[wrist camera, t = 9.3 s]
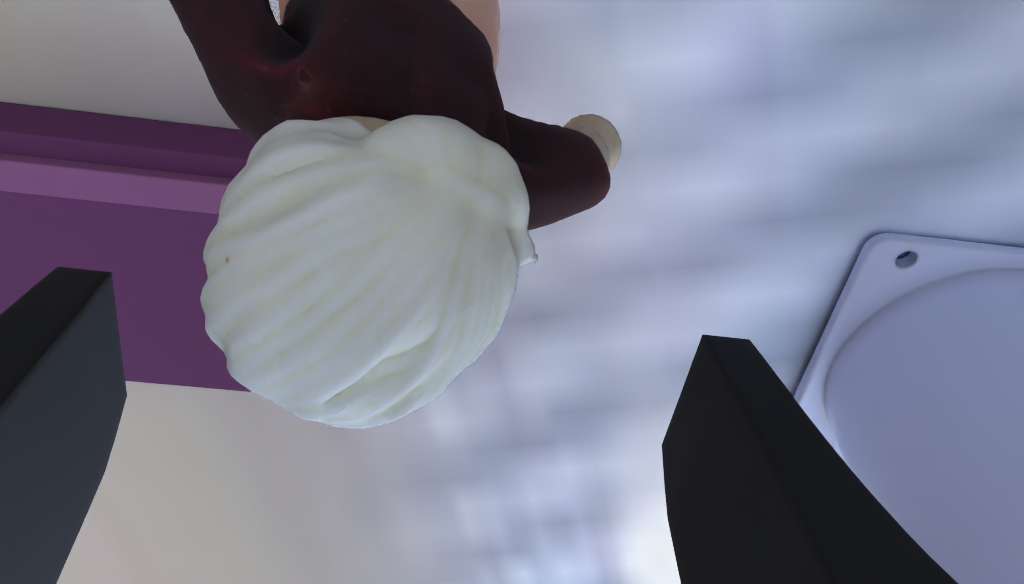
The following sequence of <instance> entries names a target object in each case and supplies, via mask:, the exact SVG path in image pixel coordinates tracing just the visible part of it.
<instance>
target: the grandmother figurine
mask: <svg viewBox="0 0 1024 584" xmlns="http://www.w3.org/2000/svg"><path fill="white" fill-rule="evenodd" d="M169 1H170V3H171V4H172V6H173V8H174V10H175V12H176V14H177V16H178V18H179V20H180V22H181V24H182V27H183V29H184V31H185V33H186V34H187V36H188V38H189V39H190V41H191V43H192V45H193V47H194V49H195V51H196V54H197V56H198V58H199V60H200V62H201V64H202V66H203V68H204V70H205V73H206V75H207V78H208V80H209V82H210V85H211V87H212V89H213V91H214V93H215V95H216V97H217V99H218V101H219V102H220V104H221V105H222V107H223V108H224V109H225V111H226V113H227V114H228V116H229V117H230V118H231V119H232V120H233V121H234V123H235V124H236V125H237V126H238V127H239V129H240V130H241V131H243V132H244V133H245V134H246V135H247V136H248V137H249V138H250V139H251V140H253V141H254V142H255V143H256V144H255V146H254V147H253V149H252V150H251V152H250V154H249V157H248V160H247V163H246V166H245V167H244V168H243V169H242V170H241V171H240V172H239V173H238V174H237V176H236V177H235V178H234V179H233V180H232V181H231V182H230V183H229V184H228V186H227V189H226V191H225V194H224V195H223V197H222V199H221V204H220V210H219V218H218V222H217V225H216V226H215V227H214V229H213V230H212V232H211V233H210V235H209V237H208V239H207V241H206V244H205V248H204V251H203V260H204V262H205V265H206V271H207V275H208V279H207V281H206V283H205V285H204V287H203V289H202V293H201V296H200V301H201V305H202V308H203V311H204V314H205V330H206V332H207V334H208V336H209V337H210V339H211V340H212V341H213V342H214V343H215V344H216V345H217V346H218V347H219V348H220V349H221V350H222V351H223V352H224V354H225V356H226V358H227V369H228V371H229V373H230V375H231V377H233V378H234V379H235V380H236V381H237V382H239V383H240V384H241V385H243V386H244V387H246V388H247V389H249V390H250V391H252V392H253V393H255V394H257V395H259V396H261V397H263V398H265V399H267V400H269V401H271V402H273V403H275V404H277V405H279V406H281V407H283V408H285V409H286V410H287V411H289V412H290V413H292V414H293V415H295V416H296V417H297V418H299V419H300V420H309V421H317V422H321V423H323V424H326V425H328V426H332V427H338V428H344V429H364V428H369V427H375V426H380V425H384V424H387V423H391V422H393V421H395V420H397V419H399V418H401V417H403V416H405V415H407V414H408V413H409V412H410V411H413V410H416V409H419V408H421V407H423V406H425V405H427V404H428V403H430V402H431V401H433V400H434V399H436V398H437V397H438V396H439V395H440V394H441V393H442V392H443V391H444V390H445V389H446V388H447V387H448V385H449V384H450V383H451V381H452V380H453V379H454V378H455V377H457V376H458V375H459V374H460V372H462V371H463V370H464V369H465V368H467V367H468V366H469V365H471V364H472V363H473V362H474V361H476V360H477V358H478V357H479V356H480V355H481V354H482V353H483V351H484V350H485V349H486V348H487V347H488V346H489V344H490V343H491V342H492V341H493V339H494V338H495V337H496V336H497V334H498V333H499V330H500V328H501V326H502V324H503V322H504V319H505V317H506V314H507V311H508V309H509V306H510V304H511V301H512V299H513V295H514V292H515V289H516V284H517V277H518V271H519V268H521V267H522V266H524V265H525V264H527V263H536V261H537V260H538V255H536V254H535V246H534V243H533V241H532V239H531V237H530V235H529V233H528V230H532V229H535V228H539V227H542V226H546V225H549V224H552V223H555V222H557V221H559V220H562V219H564V218H567V217H569V216H572V215H574V214H577V213H579V212H582V211H584V210H587V209H590V208H591V207H593V206H595V205H597V204H598V203H599V202H600V201H601V200H603V199H604V198H605V196H606V194H607V193H608V191H609V188H610V173H609V172H610V171H611V170H612V169H613V168H614V167H615V165H616V164H617V162H618V160H619V157H620V155H621V140H620V137H619V134H618V132H617V130H616V129H615V127H614V126H613V125H612V124H611V122H609V121H608V120H606V119H605V118H603V117H601V116H598V115H594V114H586V115H580V116H577V117H575V118H572V119H571V120H570V121H569V122H568V123H567V124H566V125H565V126H564V127H561V126H558V125H549V124H546V123H542V122H536V121H533V120H531V119H526V118H522V117H519V116H517V115H514V114H512V113H510V112H508V111H505V110H504V106H503V102H502V98H501V95H500V91H499V88H498V85H497V80H496V76H495V74H496V68H497V63H498V53H499V29H500V11H499V4H498V0H279V10H280V22H281V25H278V23H277V22H276V20H275V17H274V15H273V12H272V10H271V8H270V3H269V0H169Z"/></svg>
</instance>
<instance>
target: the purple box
mask: <svg viewBox="0 0 1024 584" xmlns="http://www.w3.org/2000/svg"><path fill="white" fill-rule="evenodd" d="M255 144H256V143H255V142H254V141H253V140H251V139H250V138H249V137H248V136H247V135H246V134H245V133H244V132H243V131H241V130H234V129H225V128H217V127H208V126H200V125H191V124H182V123H174V122H165V121H157V120H148V119H140V118H131V117H123V116H114V115H106V114H97V113H88V112H80V111H71V110H63V109H54V108H46V107H37V106H29V105H20V104H12V103H3V102H0V314H1V313H3V312H4V311H5V310H6V309H7V308H8V307H10V306H11V305H12V304H13V303H14V302H16V301H17V300H18V299H19V298H20V297H21V296H23V295H24V294H25V293H26V292H27V291H28V290H30V289H31V288H32V287H33V286H34V285H35V284H37V283H38V282H39V281H40V280H42V279H43V278H44V277H45V276H46V275H48V274H49V273H50V272H51V271H53V270H54V269H55V268H57V267H68V268H77V269H87V270H96V271H106V272H112V279H113V287H114V295H115V303H116V311H117V319H118V328H119V336H120V344H121V352H122V360H123V368H124V376H125V381H135V382H146V383H157V384H169V385H180V386H191V387H203V388H214V389H226V390H237V391H248V392H252V391H250V390H249V389H247V388H246V387H244V386H243V385H241V384H240V383H239V382H237V381H236V380H235V379H234V378H233V377H231V375H230V373H229V371H228V369H227V358H226V356H225V354H224V352H223V351H222V350H221V349H220V348H219V347H218V346H217V345H216V344H215V343H214V342H213V341H212V340H211V339H210V337H209V336H208V334H207V332H206V330H205V314H204V311H203V308H202V305H201V301H200V296H201V293H202V289H203V287H204V285H205V283H206V281H207V279H208V275H207V271H206V265H205V262H204V260H203V251H204V248H205V244H206V241H207V239H208V237H209V235H210V233H211V232H212V230H213V229H214V227H215V226H216V225H217V222H218V218H219V210H220V204H221V199H222V197H223V195H224V194H225V191H226V189H227V186H228V184H229V183H230V182H231V181H232V180H233V179H234V178H235V177H236V176H237V174H238V173H239V172H240V171H241V170H242V169H243V168H244V167H245V166H246V163H247V160H248V157H249V154H250V152H251V150H252V149H253V147H254V146H255Z"/></svg>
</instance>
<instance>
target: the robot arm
mask: <svg viewBox="0 0 1024 584" xmlns="http://www.w3.org/2000/svg"><path fill="white" fill-rule="evenodd" d="M906 251H911V252H910V253H909V255H908V256H906V257H904V258H900V259H896V258H897V257H898V256H899V254H901V253H903V252H906ZM126 397H127V393H126V385H125V376H124V368H123V360H122V352H121V344H120V336H119V328H118V319H117V311H116V303H115V295H114V287H113V279H112V272H106V271H96V270H87V269H77V268H68V267H57V268H55V269H54V270H53V271H51V272H50V273H49V274H48V275H46V276H45V277H44V278H43V279H42V280H40V281H39V282H38V283H37V284H35V285H34V286H33V287H32V288H31V289H30V290H28V291H27V292H26V293H25V294H24V295H23V296H21V297H20V298H19V299H18V300H17V301H16V302H14V303H13V304H12V305H11V306H10V307H8V308H7V309H6V310H5V311H4V312H3V313H1V314H0V584H56V583H57V580H58V578H59V576H60V574H61V571H62V569H63V567H64V565H65V562H66V560H67V558H68V556H69V553H70V551H71V549H72V546H73V544H74V542H75V540H76V537H77V535H78V533H79V531H80V528H81V526H82V524H83V521H84V519H85V517H86V514H87V512H88V510H89V508H90V505H91V503H92V501H93V498H94V496H95V494H96V491H97V489H98V487H99V484H100V482H101V480H102V477H103V475H104V472H105V470H106V467H107V463H108V460H109V457H110V453H111V450H112V447H113V443H114V440H115V437H116V433H117V429H118V426H119V422H120V419H121V415H122V411H123V408H124V404H125V400H126ZM662 453H663V468H664V483H665V494H666V505H667V516H668V522H669V527H670V532H671V537H672V542H673V547H674V551H675V556H676V561H677V566H678V571H679V575H680V580H681V584H1024V248H1021V247H1012V246H1004V245H995V244H986V243H977V242H968V241H960V240H951V239H942V238H933V237H925V236H916V235H907V234H898V233H881V234H878V235H875V236H873V237H872V238H870V239H869V240H868V241H867V242H866V243H865V245H864V246H863V248H862V250H861V252H860V254H859V256H858V258H857V261H856V263H855V265H854V267H853V269H852V271H851V274H850V276H849V278H848V280H847V282H846V284H845V287H844V289H843V291H842V293H841V295H840V297H839V299H838V302H837V304H836V306H835V308H834V310H833V312H832V315H831V317H830V319H829V321H828V323H827V325H826V328H825V330H824V332H823V334H822V336H821V338H820V341H819V343H818V345H817V347H816V349H815V351H814V353H813V356H812V358H811V360H810V362H809V364H808V366H807V369H806V371H805V373H804V375H803V377H802V379H801V382H800V384H799V386H798V388H797V390H796V392H795V394H794V397H793V396H792V395H791V393H790V392H789V391H788V389H787V388H786V387H785V385H784V384H783V383H782V381H781V380H780V379H779V377H778V376H777V375H776V373H775V372H774V371H773V370H772V368H771V367H770V366H769V364H768V363H767V362H766V360H765V359H764V358H763V356H762V355H761V354H760V353H759V351H758V350H757V349H756V347H755V346H754V345H753V344H752V342H751V341H750V340H748V339H739V338H729V337H720V336H711V335H702V338H701V341H700V343H699V346H698V349H697V351H696V354H695V357H694V359H693V362H692V365H691V368H690V370H689V373H688V376H687V378H686V381H685V384H684V387H683V389H682V392H681V395H680V397H679V400H678V403H677V405H676V408H675V411H674V414H673V416H672V419H671V422H670V424H669V427H668V430H667V433H666V435H665V438H664V441H663V443H662Z"/></svg>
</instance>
